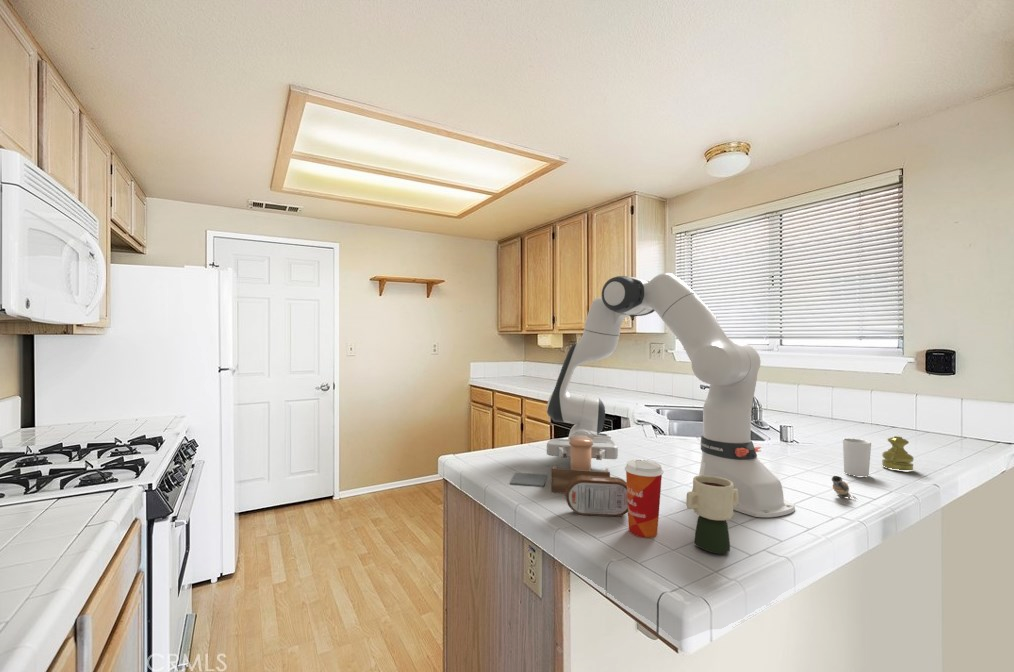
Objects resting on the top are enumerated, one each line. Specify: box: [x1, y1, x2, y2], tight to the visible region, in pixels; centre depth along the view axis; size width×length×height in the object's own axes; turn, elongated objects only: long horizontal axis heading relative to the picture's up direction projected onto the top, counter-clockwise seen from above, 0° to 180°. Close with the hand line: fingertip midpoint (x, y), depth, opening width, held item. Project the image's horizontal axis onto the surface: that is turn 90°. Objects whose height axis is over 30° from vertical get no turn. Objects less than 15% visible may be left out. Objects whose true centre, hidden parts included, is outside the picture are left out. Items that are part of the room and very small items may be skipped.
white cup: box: [842, 437, 872, 476], centre depth 134 cm, size 7×7×10 cm
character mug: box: [686, 475, 738, 554], centre depth 86 cm, size 11×7×13 cm, turn 102°
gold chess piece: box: [881, 435, 915, 471], centre depth 139 cm, size 7×7×10 cm
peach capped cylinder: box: [569, 437, 593, 471], centre depth 123 cm, size 6×6×12 cm
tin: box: [564, 475, 628, 518], centre depth 102 cm, size 15×3×8 cm, turn 84°
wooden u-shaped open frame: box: [550, 465, 611, 494], centre depth 119 cm, size 10×15×6 cm
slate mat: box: [509, 472, 548, 488], centre depth 125 cm, size 9×9×1 cm
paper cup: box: [624, 459, 664, 539], centre depth 93 cm, size 8×8×14 cm
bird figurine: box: [831, 475, 857, 499], centre depth 114 cm, size 5×5×6 cm
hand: (581, 456), depth 124 cm, fingers open, 8 cm apart
